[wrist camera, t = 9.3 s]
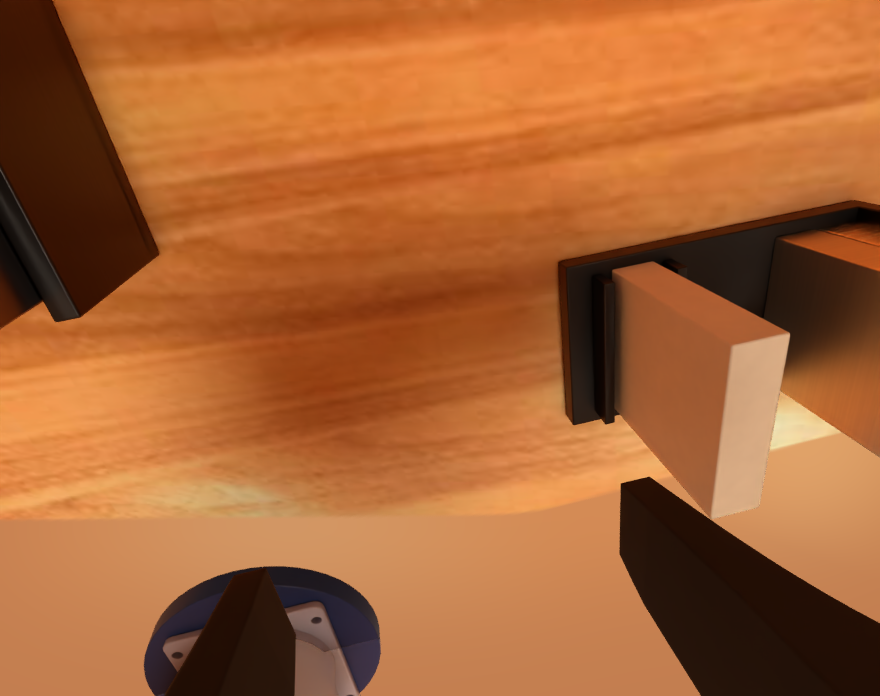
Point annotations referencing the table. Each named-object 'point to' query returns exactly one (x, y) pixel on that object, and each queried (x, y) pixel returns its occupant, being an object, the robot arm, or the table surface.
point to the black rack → (754, 308)
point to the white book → (697, 384)
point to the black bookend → (58, 178)
